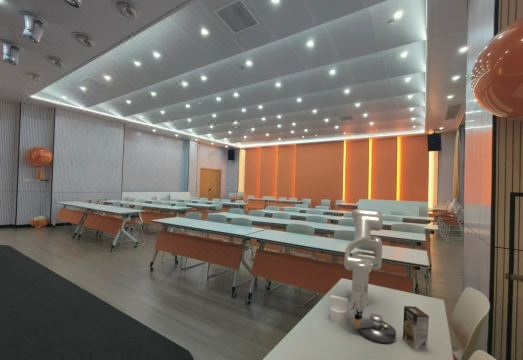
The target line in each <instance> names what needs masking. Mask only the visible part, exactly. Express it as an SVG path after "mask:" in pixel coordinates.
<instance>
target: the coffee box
mask: <svg viewBox="0 0 523 360" xmlns="http://www.w3.org/2000/svg"><path fill="white" fill-rule="evenodd" d="M429 320H430V315H428V313H426V312H424V311H422V310H421V309H420V308H418V307H417V306H411V305H410V306H409V305H405V306H403V324H402V325H403V326H402V339H403V340H404V342H406V343H407V345H408V346H409V347H410V348H411V349H413V351H415V352H416V351H417V352H418V351H421V352H424V351H426V352H427V351H428V339H429V322H430V321H429Z"/></svg>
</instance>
